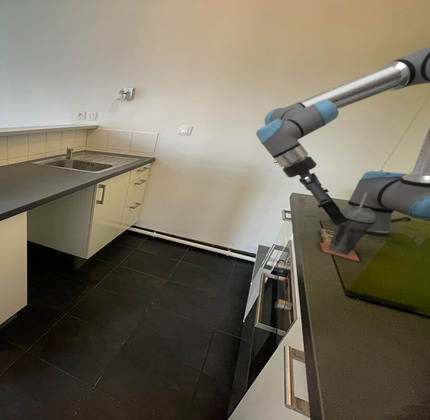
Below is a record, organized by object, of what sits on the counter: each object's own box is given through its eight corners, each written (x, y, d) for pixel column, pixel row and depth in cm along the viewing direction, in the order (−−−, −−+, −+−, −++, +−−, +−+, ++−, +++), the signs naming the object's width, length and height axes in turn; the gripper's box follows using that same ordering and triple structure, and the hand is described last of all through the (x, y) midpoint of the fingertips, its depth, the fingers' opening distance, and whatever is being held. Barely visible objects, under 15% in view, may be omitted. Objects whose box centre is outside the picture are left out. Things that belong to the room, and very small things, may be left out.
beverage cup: (362, 258, 76) (399, 198, 68) (334, 255, 77) (368, 195, 69) (341, 247, 82) (373, 190, 75) (316, 244, 84) (345, 188, 76)
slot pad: (320, 243, 85) (320, 242, 85) (354, 251, 80) (354, 251, 80) (322, 251, 79) (323, 251, 79) (359, 261, 75) (359, 261, 74)
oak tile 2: (322, 238, 89) (324, 234, 88) (346, 244, 85) (348, 240, 84) (324, 244, 84) (326, 239, 84) (349, 250, 81) (352, 246, 80)
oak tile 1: (319, 232, 94) (321, 228, 93) (342, 237, 90) (344, 233, 89) (321, 237, 89) (323, 233, 89) (345, 243, 86) (348, 239, 85)
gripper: (281, 164, 93) (318, 211, 89) (281, 173, 75) (327, 233, 72) (306, 152, 87) (346, 202, 84) (313, 159, 70) (364, 223, 66)
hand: (338, 216), depth 78 cm, fingers open, 13 cm apart
